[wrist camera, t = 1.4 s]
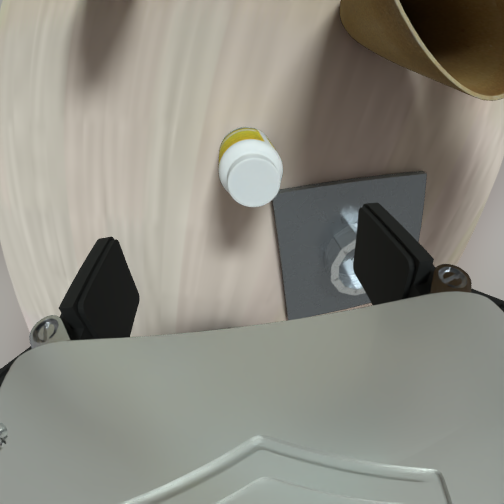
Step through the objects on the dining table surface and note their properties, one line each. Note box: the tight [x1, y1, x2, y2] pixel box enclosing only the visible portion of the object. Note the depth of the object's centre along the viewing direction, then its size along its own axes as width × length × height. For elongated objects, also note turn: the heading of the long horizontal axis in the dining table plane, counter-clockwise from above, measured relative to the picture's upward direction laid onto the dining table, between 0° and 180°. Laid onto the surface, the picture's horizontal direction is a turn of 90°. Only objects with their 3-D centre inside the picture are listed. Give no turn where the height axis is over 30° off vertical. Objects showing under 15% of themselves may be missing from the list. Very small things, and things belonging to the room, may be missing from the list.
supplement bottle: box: [218, 127, 283, 207], centre depth 25 cm, size 5×5×10 cm
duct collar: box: [272, 171, 427, 320], centre depth 36 cm, size 20×20×4 cm
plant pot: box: [340, 0, 504, 101], centre depth 15 cm, size 15×15×16 cm
